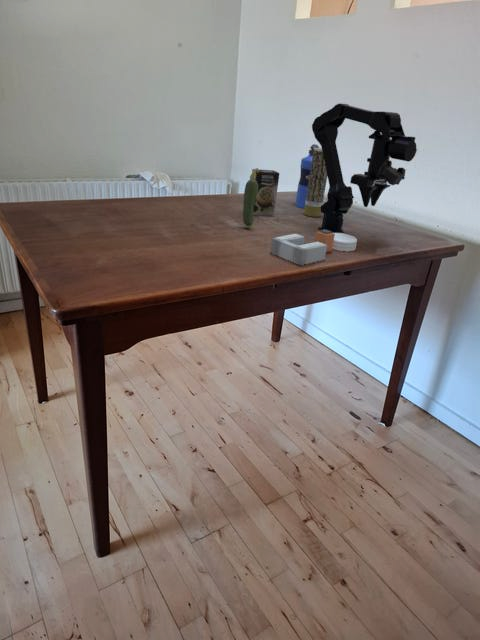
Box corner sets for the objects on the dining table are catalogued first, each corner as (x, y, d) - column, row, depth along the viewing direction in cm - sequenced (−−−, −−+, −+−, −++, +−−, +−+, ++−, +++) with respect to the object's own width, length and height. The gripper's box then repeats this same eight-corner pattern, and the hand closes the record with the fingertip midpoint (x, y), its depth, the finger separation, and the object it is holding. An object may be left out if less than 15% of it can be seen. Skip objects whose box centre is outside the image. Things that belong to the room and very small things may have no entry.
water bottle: (291, 203, 198) (300, 142, 186) (310, 203, 201) (320, 143, 189) (300, 208, 190) (309, 145, 179) (320, 209, 193) (330, 146, 181)
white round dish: (356, 245, 149) (358, 235, 148) (354, 254, 141) (357, 243, 139) (325, 240, 151) (327, 230, 150) (322, 249, 143) (324, 238, 141)
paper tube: (321, 218, 178) (333, 151, 167) (304, 216, 178) (315, 149, 167) (319, 214, 184) (330, 149, 173) (302, 212, 184) (312, 147, 173)
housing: (270, 253, 133) (272, 237, 131) (294, 248, 140) (296, 232, 138) (300, 265, 126) (303, 249, 124) (324, 259, 132) (327, 244, 130)
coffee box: (252, 215, 172) (256, 171, 165) (247, 211, 177) (251, 168, 170) (274, 216, 174) (280, 172, 167) (269, 211, 180) (274, 169, 173)
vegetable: (238, 227, 155) (244, 167, 146) (244, 225, 158) (250, 165, 149) (250, 230, 153) (256, 169, 144) (256, 228, 157) (262, 167, 148)
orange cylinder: (313, 249, 140) (316, 229, 137) (321, 247, 143) (324, 228, 140) (323, 252, 138) (327, 233, 135) (331, 251, 140) (335, 231, 137)
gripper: (386, 161, 130) (374, 215, 137) (418, 159, 142) (406, 209, 149) (354, 154, 137) (344, 206, 144) (387, 154, 149) (376, 201, 156)
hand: (369, 206), depth 148 cm, fingers open, 4 cm apart
